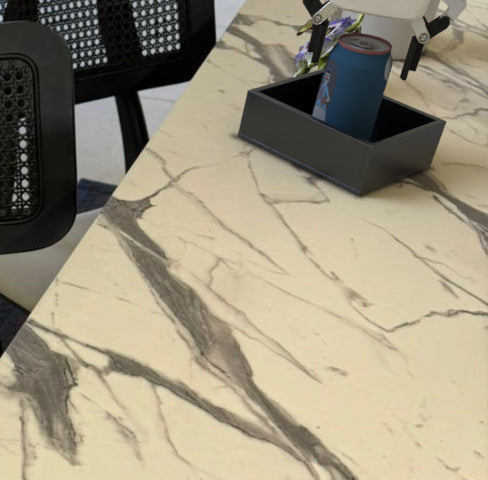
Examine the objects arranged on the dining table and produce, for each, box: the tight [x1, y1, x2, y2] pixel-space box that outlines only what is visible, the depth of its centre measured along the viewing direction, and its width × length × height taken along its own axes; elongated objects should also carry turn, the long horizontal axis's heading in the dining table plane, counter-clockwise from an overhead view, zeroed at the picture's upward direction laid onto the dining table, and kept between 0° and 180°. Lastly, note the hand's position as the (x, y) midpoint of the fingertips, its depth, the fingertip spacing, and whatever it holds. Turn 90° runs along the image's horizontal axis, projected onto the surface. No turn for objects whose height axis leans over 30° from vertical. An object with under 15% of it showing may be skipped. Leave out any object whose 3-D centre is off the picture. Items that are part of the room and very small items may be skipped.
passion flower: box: [292, 14, 365, 78], centre depth 132 cm, size 11×11×12 cm
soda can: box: [312, 33, 394, 142], centre depth 115 cm, size 7×7×12 cm
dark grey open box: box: [237, 69, 447, 198], centre depth 117 cm, size 18×14×6 cm
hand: (359, 67), depth 113 cm, fingers open, 9 cm apart
